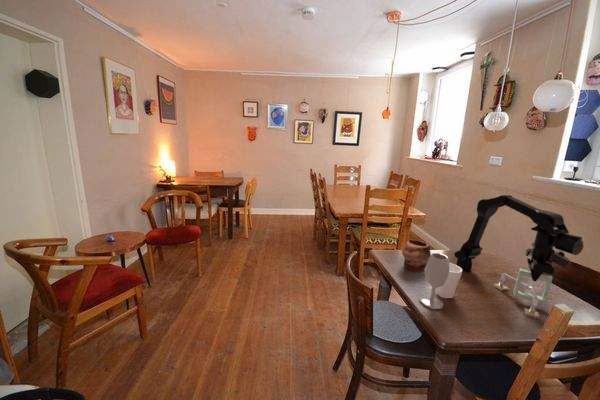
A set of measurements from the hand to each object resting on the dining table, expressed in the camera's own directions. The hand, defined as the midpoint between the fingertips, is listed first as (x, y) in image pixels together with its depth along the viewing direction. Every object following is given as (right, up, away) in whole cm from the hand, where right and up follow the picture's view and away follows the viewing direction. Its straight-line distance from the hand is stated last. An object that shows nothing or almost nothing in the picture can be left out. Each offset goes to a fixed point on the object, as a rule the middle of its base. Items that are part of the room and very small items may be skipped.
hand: (533, 279), depth 108 cm
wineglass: (-42, -10, 0) cm, 43 cm away
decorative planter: (-35, -3, +31) cm, 47 cm away
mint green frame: (0, -8, +2) cm, 8 cm away
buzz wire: (-4, -10, +6) cm, 12 cm away
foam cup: (-33, -9, +7) cm, 35 cm away
